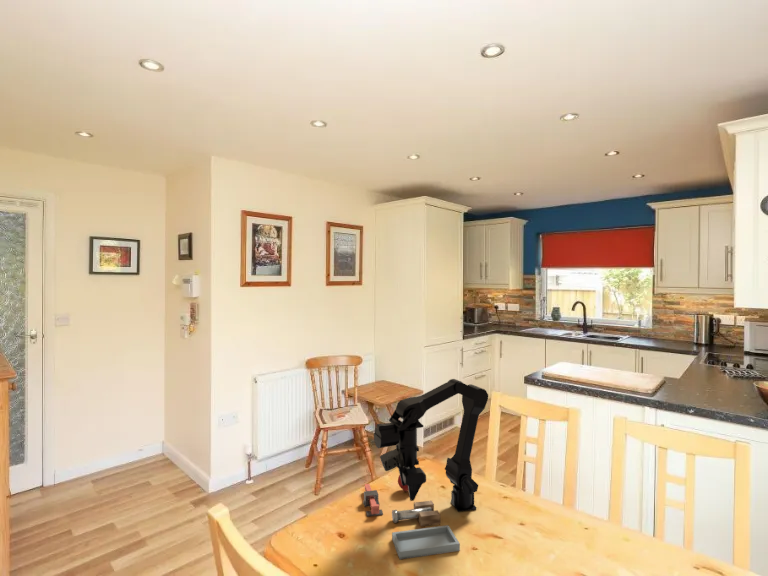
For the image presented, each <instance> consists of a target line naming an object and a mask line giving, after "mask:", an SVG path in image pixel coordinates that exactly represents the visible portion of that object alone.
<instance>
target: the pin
mask: <svg viewBox="0 0 768 576" xmlns="http://www.w3.org/2000/svg"><path fill="white" fill-rule="evenodd" d="M428 511H432V508H431V507H427V508H419V509H414V508H413V509H404V510H398V509H392V511H391V518H392V522H393V524H394V523H395V524H396V523H399V521H405V520H406V521H407V520H412V519H417V518H419V513H420V512H428Z"/></svg>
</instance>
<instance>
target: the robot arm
mask: <svg viewBox="0 0 768 576" xmlns="http://www.w3.org/2000/svg"><path fill="white" fill-rule="evenodd" d="M458 394H459V395H462V396H461V404H462V408H463V415H462V419H461V424H460V428H459V433H458V434H459V435H458V437H457V443H456V448H455V452H454V455H453V456H452V457H447V458H446V465H445V467H444V470H445V475H446V477H447V479H448V480H449V481H450V483H451V484H452V490H451V492H450V493H451V500H450V502H451V504H452V506H453V507H454V509H456V511H457V512H458V513H459V512H468V511H476V510H477V507H476V505H475V493H477V492H478V488H479V484H478V483H477V482H476V481H475V480H474V479H473V478H472V476H473V468H472V462H471V454H472V450H473V445H474V440H475V435H476V431H477V425H478V421H479V416H480V415H481V414H482V412H483V411H485V409H486V406H487V403H488V400H489V393H488V392H487V390H485V388H482V387H479V386H477V385H474V384H473V383H472V384H466V383H464V382H462V381H461V380H459V379H455V378H450V379H449V380H448V381H447V382H445V383H443V384H441V385H439V386H437V387H435V388H433V389H430V390H429V391H427V392H425V393H423V394H422V395H418V396H411V397H408V398H404V399H400V400H399V401H398V402H397V403H396V407H395V410H394V411H393V412H392V414H391V416H390V418H389V419H388V422H387V423H377V424H376V428H375V429H374V432H373V441H374V444H375V446H376V448H377V449H382V448H388V447H393V446H395V449H393V450H389V451H387V452H385V453H383V454H381V455H380V456H379V459H380V462H381V465H382V468H383V469H384V471H385V472H389V471H391V470H393V469H396V468H397V469H398V473H399V475H400V478H401V482H402V485H403V486H405V485H408V491H407V492H408V496H409V501H410V502H413V501H415V499H416V496H417V494H418V493H419V491H420V489H421V487H422V486H423V484H425V483H426V482H427V475H426V473H425V472H424V470H423V469H422V468H421V467H416V466H417V465H418V466H419V465H420V460H419V459H418V452H420V448H419V446H418V435H417V434H418V429H420V428H424V424H423V423H421V422H420V419H422V418H423V417H424V416H425V414H426V412H427V411H428V410H430V409H432V408H434V407H435V406H437V405H439V404H441V403H442V402H445V401H446V400H448V399H451V398H452V397H454V396H456V395H458ZM400 419H401V420H400Z"/></svg>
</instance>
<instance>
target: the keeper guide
mask: <svg viewBox="0 0 768 576" xmlns="http://www.w3.org/2000/svg"><path fill="white" fill-rule="evenodd" d="M369 497H374V498H375V501H376V504H379V505H380V501H379V493H378V490H377V489H375V490H373V489H372V491H365V490H364V491H363V500H362V504H363V506H364V508H368V507H370V508H371V506H370V503H369V500H368V498H369ZM365 512H366V513H365V514H366V517H374V516H383V515H384V512H383V509H381V508H380V509H379V513H378V514H372V513H371V510H366V511H365Z"/></svg>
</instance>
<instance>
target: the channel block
mask: <svg viewBox="0 0 768 576" xmlns="http://www.w3.org/2000/svg"><path fill="white" fill-rule="evenodd" d="M427 507H431V508H432V511H428V512H420V513H419V518H416V519H417V521H418V522H419V525H420V527H427V526H436V525H441V514H440V512H439V510H437V509H436V510H435V504H434V502H433V500H424V501H416V502H413V509H419V508H427Z"/></svg>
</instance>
